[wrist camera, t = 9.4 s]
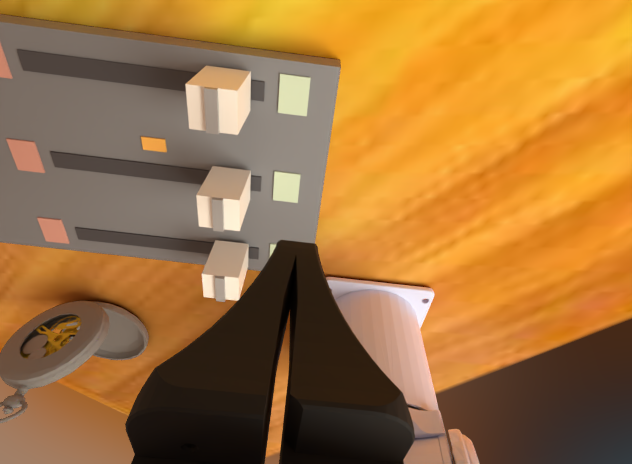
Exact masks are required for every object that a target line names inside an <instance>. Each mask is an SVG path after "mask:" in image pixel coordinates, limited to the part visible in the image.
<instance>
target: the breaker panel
mask: <svg viewBox="0 0 632 464" xmlns="http://www.w3.org/2000/svg"><path fill="white" fill-rule="evenodd" d="M206 65H207V66H214V67H222V68H229V69H237V70H245V71H251V100H250V112H249V114H248V116H247V118H246V120H245V122H244V124H243V126H242V128H241V130H240V132H239V133H238V135H234V134H226V133H219V134H210V133H206V131H202V130H194V129H189V120H188V108H187V97H186V85H185V84H186V83H187V82H188V81H189V80H191V79H192V78H193V77H194V76H195V75H196V74H197V73H198V72H200V71H201V70H202V69H203V68H204V67H205V66H206ZM340 68H341V65H340V60H337V59H330V58H322V57H315V56H307V55H300V54H293V53H285V52H278V51H270V50H263V49H255V48H248V47H241V46H233V45H226V44H218V43H211V42H203V41H196V40H188V39H181V38H174V37H166V36H159V35H151V34H144V33H136V32H129V31H122V30H114V29H107V28H99V27H92V26H84V25H77V24H70V23H62V22H55V21H47V20H40V19H32V18H25V17H18V16H10V15H3V14H0V242H3V243H12V244H21V245H30V246H39V247H48V248H57V249H66V250H75V251H84V252H93V253H102V254H111V255H121V256H130V257H139V258H148V259H157V260H166V261H175V262H184V263H193V264H202V265H206V262H207V260H208V257H209V255H210V252H211V250H212V248H213V245H214V243H215V240H219V241H227V242H236V243H245V244H249V247H248V269H247V270H256V271H262V269H263V268H264V266H265V265H266V263H267V261H268V260H269V258H270V256H271V255H272V253H273V251H274V249H275V247H276V244H277V242H278V241H279V240H289V241H297V242H306V243H315V238H316V232H317V225H318V218H319V211H320V204H321V198H322V191H323V184H324V177H325V170H326V164H327V157H328V150H329V143H330V136H331V130H332V123H333V116H334V109H335V102H336V96H337V89H338V82H339V75H340ZM212 166H217V167H226V168H234V169H242V170H250V171H251V183H250V202H249V205H248V208H247V211H246V214H245V217H244V220H243V223H242V226H241V229H240V231H234V230H225V229H224V232H220V231H213V228H207V227H199V222H198V210H197V198H196V195H197V193H198V191H199V190H200V188H201V186H202V184H203V182H204V181H205V179H206V177H207V175H208V174H209V172H210V170H211V168H212Z"/></svg>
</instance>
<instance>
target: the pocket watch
mask: <svg viewBox="0 0 632 464" xmlns="http://www.w3.org/2000/svg"><path fill="white" fill-rule="evenodd" d="M54 329H62V330H61V332H63V333H61V332H60V333H59V334H57V333H54V332H52V331H53V330H54ZM55 337H56V339H55ZM148 339H149V336H148V332H147V330H146V327H145V326H144V324H143V323H142V322H141V321H140V320H139V319H138V318H137V317H136V316H135V315H133V314H131V313H130V312H128V311H127V310H125V309H123V308H121V307H118V306H115V305H113V304H109V303H104V302H94V301H74V302H68V303H65V304H62V305H58V306H56V307H54V308H51V309H49V310H47V311H45V312H43V313H41V314H40V315H38V316H36V317H35V318H33V319H32V320H30V321H29V322H27V323H26V324H25V325H23V326H22V327H21V328H20V329H19V330H18V331H17V332H15V333H14V335H13V336H12V337H11V338H10V339H9V340H8V341H7V343H6V344H5V346H4V347H3V348H2V350H1V353H0V376H1V378H2V379H3V381H4V382H5V383H6V384H7V385H9V386H11V387H13V388H16V389H17V391H16V392H15V394H14V395H12V396H8V397H7V398H6V399H5V400H4V401H3V402H1V403H0V407H1V406H3V405H4V406H5V408H4V409H3V411H4V413H5V414H8V413H12V412H13V408H18V407H20V406H22V409H21V410H19V411H18V412H17V413H15V414H13V415H11V416H8V417H6V418H4V419H0V423H3V422H6V421H8V420H11V419H14V418H15V417H17V416H19V415H21V414H22V413H23V412H25V410H26V409H27V402H25V398H24V397H23V396H24V394H25V393H26V392H27V391H28V389H31V388H37V387H42V386H45V385H47V384H50V383H52V382H55V381H57V380H59V379H61V378H63V377H64V376H66V375H68V374H70V373H72V372H73V371H75V370H76V369H77V368H78V367H80V366H81V365H82V364H83V363H85V362H86V361H87V360H88V359H89V358H90V357H91V356H92V355H94V356H97V357H101V358H106V359H110V360H127V359H132V358H135V357H137V356H139V355H140V354H142V353H143V351H144V350H145V349H146V347H147V344H148ZM54 340H56V341H54ZM67 341H68V342H69V343H68V342H67ZM62 342H63V343H62ZM66 342H67V344H66Z"/></svg>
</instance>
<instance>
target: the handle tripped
mask: <svg viewBox="0 0 632 464" xmlns="http://www.w3.org/2000/svg"><path fill="white" fill-rule="evenodd" d="M250 183H251V171H250V170H242V169H234V168H226V167H217V166H212V168H211V170H210V172H209V174H208V175H207V177H206V179H205V181H204V182H203V184H202V186H201V188H200V190H199V191H198V193H197V195H196V198H197V210H198V222H199V227H207V228H213V231H220V232H224V229H225V230H234V231H240V229H241V226H242V223H243V220H244V217H245V214H246V211H247V208H248V205H249V202H250Z"/></svg>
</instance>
